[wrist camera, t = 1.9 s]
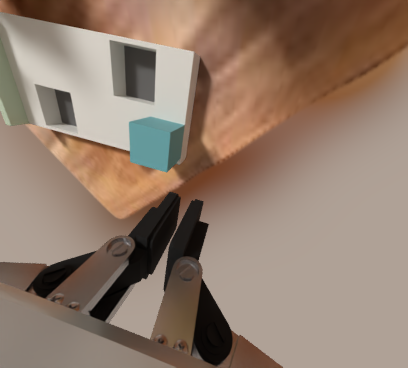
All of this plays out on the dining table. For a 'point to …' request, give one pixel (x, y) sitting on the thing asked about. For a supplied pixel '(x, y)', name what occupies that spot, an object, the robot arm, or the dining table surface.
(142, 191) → the dining table surface
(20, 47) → the white board with holes
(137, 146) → the block
